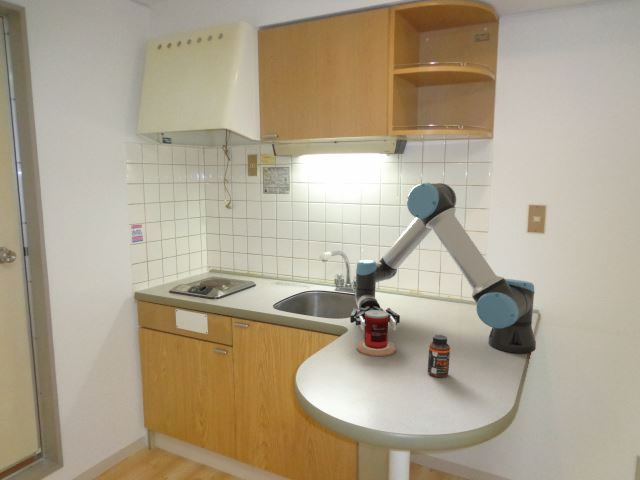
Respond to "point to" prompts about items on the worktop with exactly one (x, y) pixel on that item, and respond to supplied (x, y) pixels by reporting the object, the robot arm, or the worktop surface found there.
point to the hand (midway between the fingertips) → (378, 326)
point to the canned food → (376, 329)
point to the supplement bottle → (439, 356)
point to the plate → (376, 352)
